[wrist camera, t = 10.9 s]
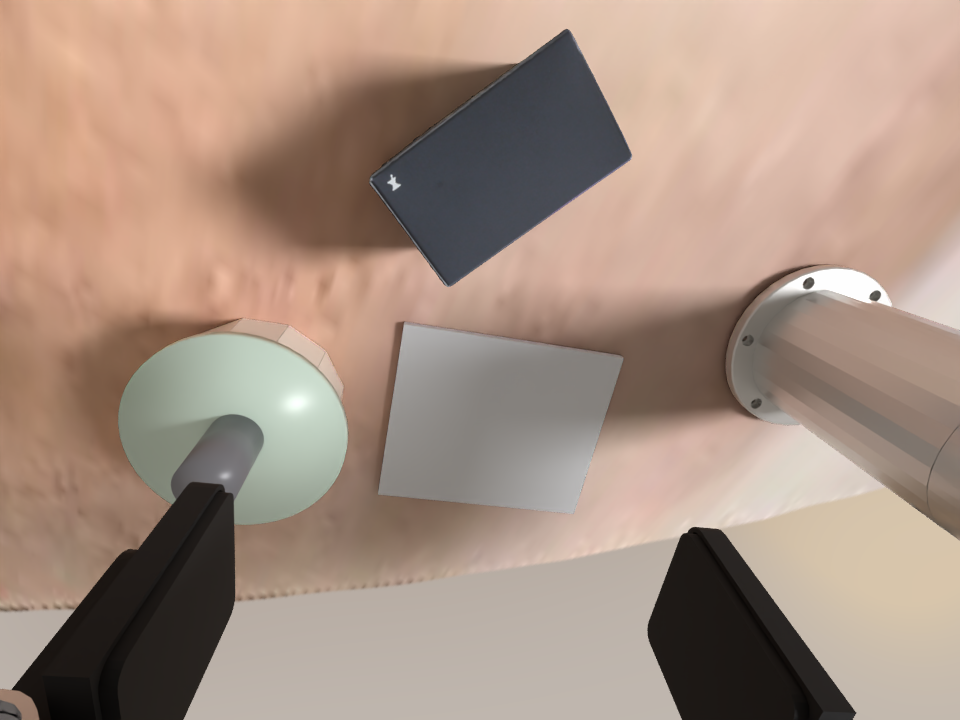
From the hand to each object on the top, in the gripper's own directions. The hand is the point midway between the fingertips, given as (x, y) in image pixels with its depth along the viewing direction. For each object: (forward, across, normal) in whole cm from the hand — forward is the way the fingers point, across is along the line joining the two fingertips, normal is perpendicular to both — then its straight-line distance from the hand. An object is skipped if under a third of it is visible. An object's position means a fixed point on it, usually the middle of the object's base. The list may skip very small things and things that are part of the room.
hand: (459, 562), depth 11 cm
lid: (+20, +12, +10) cm, 26 cm away
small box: (+26, -1, -8) cm, 27 cm away
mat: (+26, -5, +11) cm, 29 cm away
